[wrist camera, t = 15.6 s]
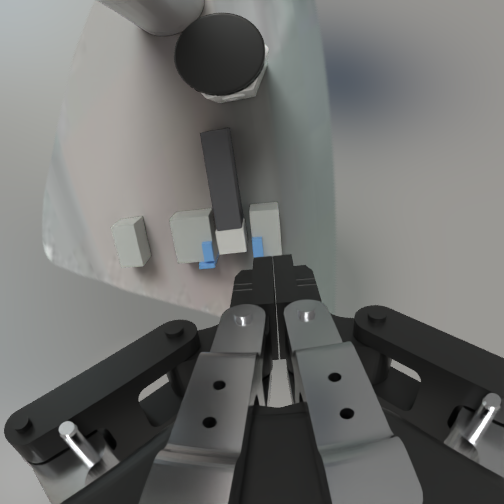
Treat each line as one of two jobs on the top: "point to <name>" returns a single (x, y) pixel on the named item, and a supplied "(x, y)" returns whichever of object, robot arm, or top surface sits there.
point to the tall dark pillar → (224, 191)
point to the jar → (222, 57)
